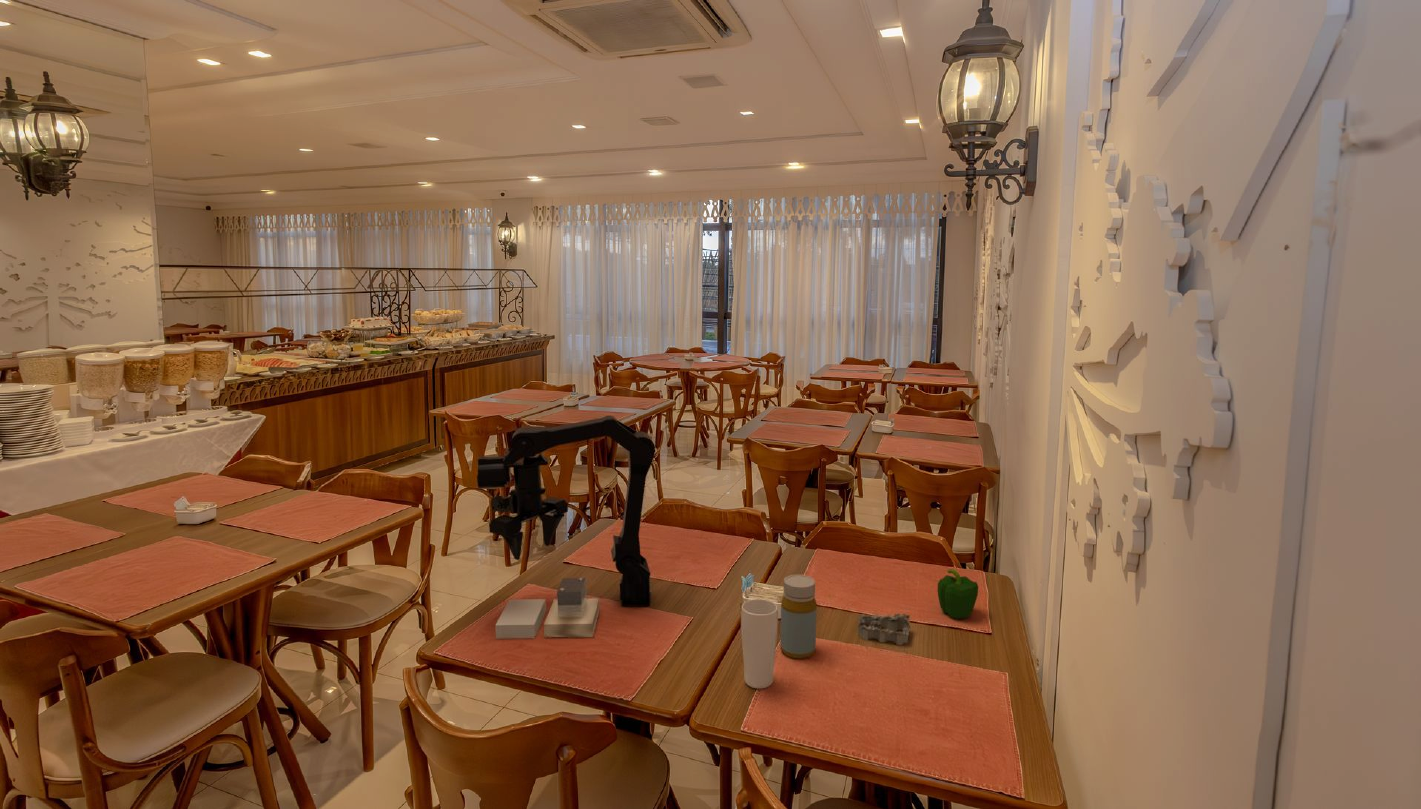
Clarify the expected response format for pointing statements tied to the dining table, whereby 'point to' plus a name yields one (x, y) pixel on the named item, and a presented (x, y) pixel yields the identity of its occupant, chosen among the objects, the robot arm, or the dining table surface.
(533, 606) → the stand
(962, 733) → the dining table surface
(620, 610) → the dining table surface
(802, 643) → the bottle
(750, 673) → the drinking glass
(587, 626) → the stand
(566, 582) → the housing
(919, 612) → the dining table surface
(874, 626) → the egg carton
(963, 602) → the bell pepper
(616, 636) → the dining table surface
